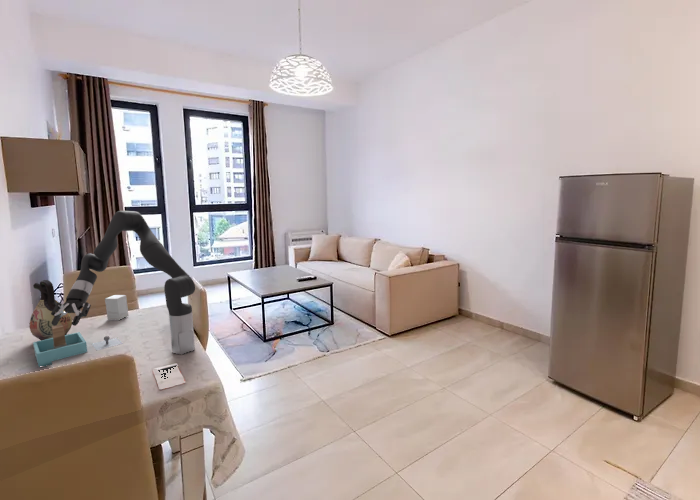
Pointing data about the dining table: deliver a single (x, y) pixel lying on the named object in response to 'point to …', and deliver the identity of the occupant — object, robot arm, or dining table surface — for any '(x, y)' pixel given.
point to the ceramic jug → (46, 313)
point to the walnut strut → (58, 336)
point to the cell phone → (166, 368)
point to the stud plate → (107, 343)
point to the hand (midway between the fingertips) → (63, 325)
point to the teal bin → (59, 349)
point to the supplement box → (116, 307)
